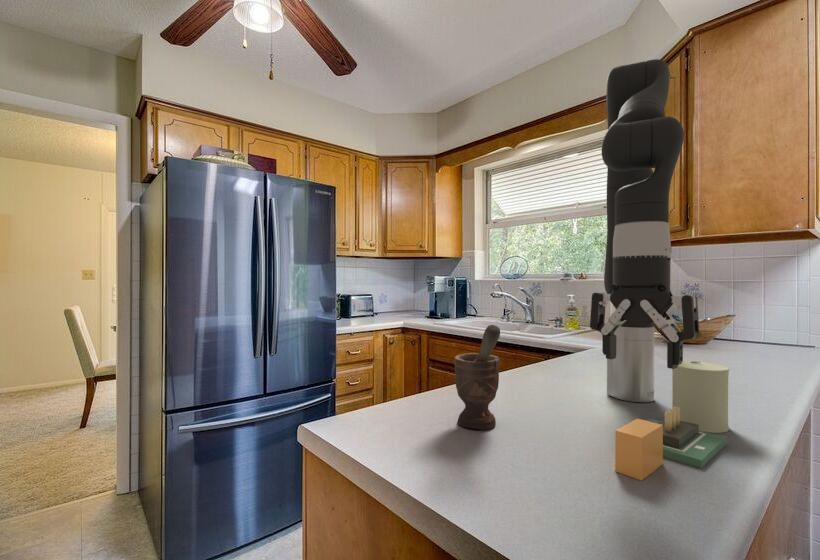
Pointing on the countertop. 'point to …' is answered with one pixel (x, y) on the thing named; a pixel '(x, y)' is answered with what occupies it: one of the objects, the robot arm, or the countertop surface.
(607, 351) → the robot arm
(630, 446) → the block
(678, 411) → the header board
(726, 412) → the can
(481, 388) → the mortar and pestle
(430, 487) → the countertop surface
